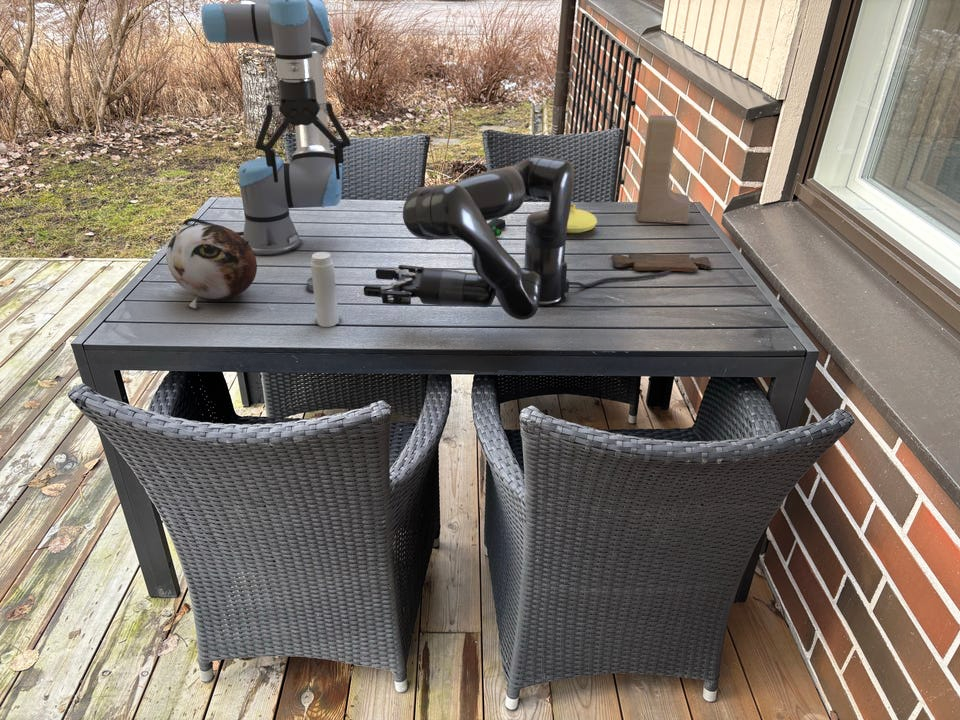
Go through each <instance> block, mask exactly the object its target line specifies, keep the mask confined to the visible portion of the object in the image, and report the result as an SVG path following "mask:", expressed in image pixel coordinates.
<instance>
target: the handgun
mask: <svg viewBox="0 0 960 720" xmlns="http://www.w3.org/2000/svg"><path fill="white" fill-rule="evenodd" d="M487 223H488V225H489V227H490V228H491V230H492V232H493V234H494V236H495V237H496V238H497V237H500V236H502V230H504V229H505V228H506V220H505V219H503V218H498V219H493V220H489V222H487Z"/></svg>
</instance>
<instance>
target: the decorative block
mask: <svg viewBox="0 0 960 720" xmlns="http://www.w3.org/2000/svg"><path fill="white" fill-rule="evenodd" d="M677 127H678V121H677V119H676V117H675V116H674V115H659V114H651V115H649V116H648V121H647V128H646V136H645V143H644V151H643V160H642V167H641V175H640V181H639V182H640V183H639V190H638V191H639V192H638V195H637V196H638V197H637V205H636V212H635V213H636V218H637V219H636V220H637V221H638V222H645V223H646V222H647V223H648V222H649V223H664V224H678V225H679V224H680V225H681V224H682V225H686V224H688V222H689V219H690V212H691V207H692V203H691V200H690V198H689V195H688V194H683V193H680V192H679V193H678V192H674V191H673V190H672V189H671V188H670V186H669V181H670V174H671V167H672V160H673V154H674V147H675V140H676V134H677ZM659 220H660V221H659ZM664 220H665V221H664ZM674 221H682V222H674ZM683 221H684V222H683Z"/></svg>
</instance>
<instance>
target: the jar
mask: <svg viewBox="0 0 960 720" xmlns="http://www.w3.org/2000/svg"><path fill="white" fill-rule="evenodd" d="M310 271H311V278H312V281H313V289H314V292H313V297H314V298H313V299H314V304H315V306H314V307H315V314H316V323H317V325H318V326H320V327H322V328H331V327H334V326H336V325H338V324H339V323H340V318H339V317H340V316H339V307H338V305H339V304H338V296H337V287H336V275H335V265H334V260H333V259H332V254H331V253H330V252H327V251H317V252H314V253H313V254H311V261H310Z"/></svg>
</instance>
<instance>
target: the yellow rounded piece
mask: <svg viewBox="0 0 960 720" xmlns="http://www.w3.org/2000/svg"><path fill="white" fill-rule="evenodd" d="M597 223H598V219H597V217H596V215H595V214H593V213H591V212H589V211H587V210H584V209H578V208H576V205H575V204H572V203H571V206H570V214H569V219H568V224H567V233H566V234H580V233H584V232H585V233H586V232H587V231H591V230H592V229H594V228H596V226H597Z"/></svg>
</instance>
